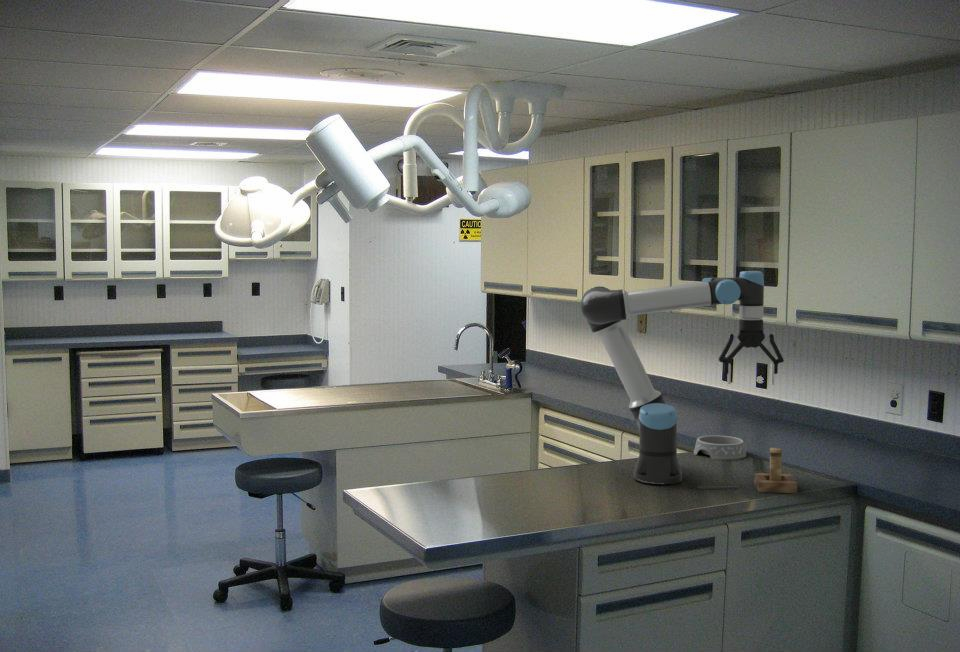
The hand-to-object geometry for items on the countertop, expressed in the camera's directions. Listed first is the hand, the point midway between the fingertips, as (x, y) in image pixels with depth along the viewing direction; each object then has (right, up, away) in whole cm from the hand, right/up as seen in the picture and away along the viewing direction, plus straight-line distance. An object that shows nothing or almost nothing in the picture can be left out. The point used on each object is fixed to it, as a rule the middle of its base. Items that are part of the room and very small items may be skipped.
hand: (750, 383), depth 297 cm
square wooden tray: (+2, -31, -19) cm, 36 cm away
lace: (-15, -31, -19) cm, 39 cm away
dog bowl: (-3, -27, +27) cm, 38 cm away
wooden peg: (+2, -31, -19) cm, 36 cm away
